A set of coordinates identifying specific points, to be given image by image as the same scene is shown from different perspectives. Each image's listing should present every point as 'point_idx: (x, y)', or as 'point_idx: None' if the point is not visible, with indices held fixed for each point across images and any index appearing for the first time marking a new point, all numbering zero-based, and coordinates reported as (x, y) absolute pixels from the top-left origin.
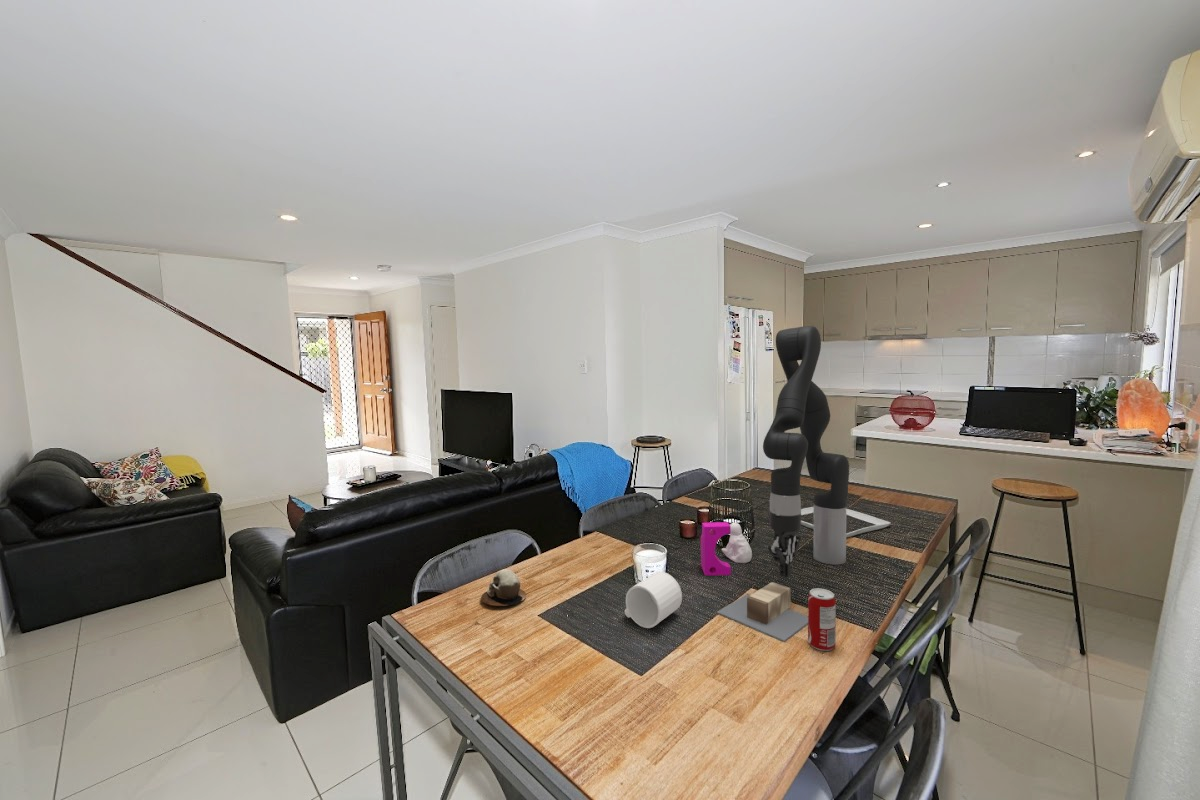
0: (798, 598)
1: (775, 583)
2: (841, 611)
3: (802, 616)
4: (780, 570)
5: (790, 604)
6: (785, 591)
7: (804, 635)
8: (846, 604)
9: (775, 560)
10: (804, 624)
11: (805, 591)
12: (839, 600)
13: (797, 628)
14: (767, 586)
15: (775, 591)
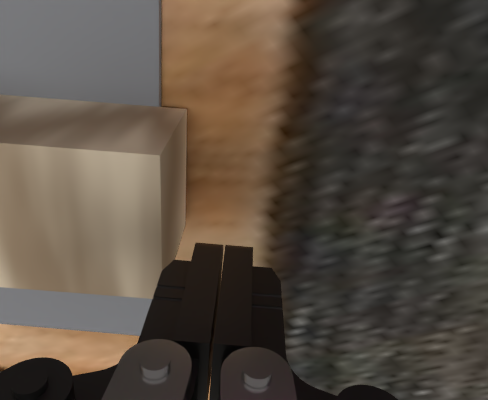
0: (343, 207)
1: (151, 190)
2: (325, 386)
3: (133, 299)
4: (154, 295)
5: (182, 232)
6: (85, 291)
7: (3, 342)
8: (412, 385)
9: (9, 381)
10: (71, 327)
11: (467, 205)
12: (441, 357)
13: (11, 318)
14: (43, 164)
15: (20, 245)
